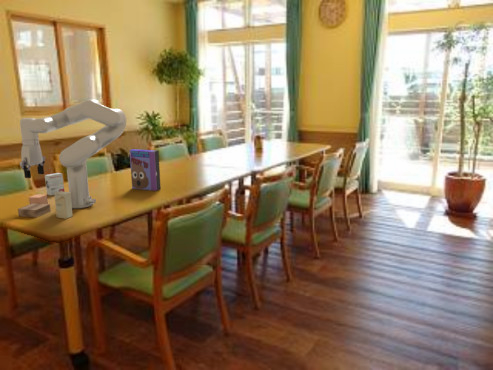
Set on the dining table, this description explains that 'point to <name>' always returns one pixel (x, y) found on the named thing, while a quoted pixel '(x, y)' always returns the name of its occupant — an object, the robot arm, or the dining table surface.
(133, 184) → the cereal box
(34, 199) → the terracotta cube
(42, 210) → the walnut block
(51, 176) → the ink box
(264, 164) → the dining table surface
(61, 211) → the skincare box
